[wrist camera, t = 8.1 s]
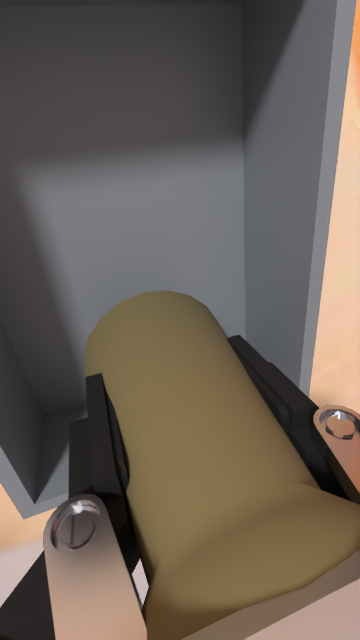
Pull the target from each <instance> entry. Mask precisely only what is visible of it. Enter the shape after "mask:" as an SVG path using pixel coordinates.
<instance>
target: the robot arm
mask: <svg viewBox="0 0 360 640" xmlns="http://www.w3.org/2000/svg"><path fill="white" fill-rule="evenodd" d="M226 339H227V340H228V342H229V343H230V345H231V347H232V348H233V350H234V352H235V353H236V355H237V357H238V358H239V360H240V362H241V363H242V365H243V367H244V368H245V370H246V372H247V373H248V375H249V376H250V378H251V379H252V381H253V383H254V384H255V386H256V387H257V389H258V391H259V392H260V394H261V395H262V397H263V398H264V400H265V402H266V403H267V405H268V406H269V408H270V410H271V411H272V413H273V414H274V416H275V417H276V419H277V421H278V422H279V424H280V425H281V427H282V428H283V430H284V431H285V432H286V434H287V435H288V437H289V438H290V440H291V442H292V443H293V445H294V447H295V448H296V450H297V451H298V453H299V455H300V456H301V458H302V460H303V461H304V463H305V464H306V466H307V468H308V469H309V471H310V473H311V474H312V476H313V478H314V479H315V481H316V482H317V484H318V486H319V487H320V489H321V490H323V491H325V492H328V493H330V494H333V495H336V496H338V497H341V498H343V499H346V500H348V501H351V502H354V503H356V504H359V505H360V414H358V413H357V412H355V411H353V410H352V409H349V408H346V407H343V406H337V405H328V406H324V407H321V408H319V407H318V406H317V405H316V404H315V403H314V402H313V401H312V400H310V399H309V398H308V397H307V396H306V395H305V394H304V393H303V392H302V391H301V390H300V389H299V388H298V387H297V386H296V385H295V384H294V383H293V382H292V381H291V380H290V379H289V378H288V377H287V376H286V375H284V374H283V373H282V372H281V371H280V370H279V369H278V368H277V367H276V366H275V365H274V364H273V363H271V362H267V361H266V360H265V359H264V358H263V357H262V356H261V355H260V354H259V353H258V352H257V351H256V350H255V349H254V348H253V347H252V346H251V345H250V344H249V343H248V342H247V341H246V340H245V339H244V338H243V337H242V336H240V335H235V336H232V337H228V338H226ZM85 382H86V398H87V414H88V417H86V418H83V419H80V420H76V421H73V422H70V426H69V492H68V500H66V501H65V502H63V503H62V504H61V505H60V506H59V507H58V508H57V509H56V510H55V511H54V512H53V513H52V515H51V517H50V518H49V520H48V522H47V524H46V527H45V530H44V535H43V545H44V551H43V552H42V554H41V555H40V556H39V557H38V559H37V560H36V561H35V563H34V564H33V565H32V567H31V568H30V569H29V571H28V572H27V573H26V575H25V576H24V577H23V578H22V580H21V581H20V582H19V584H18V585H17V587H16V588H15V589H14V590H13V592H12V593H11V594H10V596H9V597H8V598H7V600H6V601H5V602H4V604H3V605H2V606H1V608H0V640H147V629H146V625H145V622H144V618H143V615H142V611H141V610H142V607H143V605H142V602H141V599H140V596H139V593H138V590H137V588H136V585H135V582H134V579H133V576H132V573H133V571H134V569H135V567H136V565H137V563H138V561H139V559H140V555H139V552H138V549H137V546H136V542H135V539H134V536H133V531H132V527H131V522H130V518H129V513H128V509H127V505H126V500H125V494H126V491H127V488H128V485H129V478H128V473H127V468H126V463H125V458H124V453H123V449H122V444H121V439H120V434H119V429H118V424H117V419H116V414H115V409H114V406H113V404H112V402H111V400H110V397H109V395H108V393H107V391H106V389H105V387H104V385H103V380H102V374H101V373H98V374H94V375H91V376H87V377H85ZM182 640H360V550H359V551H357V552H355V553H353V554H352V556H351V557H349V558H348V559H346V560H345V561H343V562H342V563H340V564H339V565H337V566H336V567H334V568H333V569H331V570H330V571H328V572H327V573H325V574H324V575H322V576H321V577H319V578H318V579H316V580H315V581H313V582H312V583H310V584H309V585H307V586H306V587H304V588H301V589H298V590H295V591H292V592H289V593H286V594H283V595H280V596H277V597H274V598H272V599H269V600H266V601H263V602H260V603H257V604H254V605H252V606H249V607H246V608H243V609H241V610H239V611H237V612H235V613H233V614H231V615H229V616H227V617H225V618H223V619H221V620H219V621H217V622H215V623H213V624H211V625H209V626H207V627H205V628H203V629H201V630H199V631H197V632H195V633H194V634H192V635H190V636H188V637H186V638H184V639H182Z"/></svg>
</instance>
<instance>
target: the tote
mask: <svg viewBox="0 0 360 640" xmlns="http://www.w3.org/2000/svg"><path fill="white" fill-rule="evenodd" d="M355 7H356V0H0V483H1V484H2V486H3V487H4V489H5V491H6V492H7V494H8V495H9V497H10V498H11V500H12V502H13V503H14V505H15V506H16V508H17V509H18V511H19V513H20V514H21V516H22V517H23V519H26V518H29V517H31V516H34V515H37V514H40V513H42V512H45V511H48V510H51V509H53V508H56V507H59V506H60V505H61V504H62V503H63V502H65V501H66V500H68V492H69V426H70V422H73V421H76V420H80V419H83V418H86V417H88V414H87V398H86V382H85V371H84V364H83V355H84V351H85V347H86V343H87V339H88V336H89V335H90V333H91V332H92V330H93V329H94V327H95V326H96V324H97V323H98V321H99V320H100V318H101V317H102V316H104V315H105V314H106V313H107V312H109V311H110V310H111V309H112V308H114V307H115V306H116V305H117V304H119V303H120V302H122V301H124V300H127V299H129V298H132V297H134V296H136V295H139V294H141V293H144V292H155V291H166V290H169V291H173V292H178V293H182V294H187V295H190V296H192V297H193V298H195V299H196V300H198V301H200V302H201V303H203V304H204V305H206V306H207V307H208V309H209V310H210V311H211V313H212V314H213V316H214V317H215V318H216V320H217V321H218V323H219V324H220V326H221V328H222V329H223V331H224V332H225V334H226V336H227V337H232V336H235V335H240V336H242V337H243V338H244V339H245V340H246V341H247V342H248V343H249V344H250V345H251V346H252V347H253V348H254V349H255V350H256V351H257V352H258V353H259V354H260V355H261V356H262V357H263V358H264V359H265V360H266V361H267V362H271V363H273V364H274V365H275V366H276V367H277V368H278V369H279V370H280V371H281V372H282V373H283V374H284V375H286V376H287V377H288V378H289V379H290V380H291V381H292V382H293V383H294V384H295V385H296V386H297V387H298V388H299V389H300V390H301V391H302V392H303V393H304V394H305V395H306V396H307V397H308V398H309V390H310V381H311V373H312V365H313V356H314V348H315V340H316V332H317V323H318V315H319V307H320V298H321V290H322V282H323V273H324V265H325V257H326V248H327V240H328V232H329V223H330V215H331V207H332V199H333V190H334V182H335V174H336V165H337V157H338V149H339V140H340V132H341V124H342V115H343V107H344V99H345V91H346V82H347V74H348V66H349V57H350V49H351V41H352V32H353V24H354V16H355Z"/></svg>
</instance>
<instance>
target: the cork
mask: <svg viewBox="0 0 360 640" xmlns="http://www.w3.org/2000/svg"><path fill="white" fill-rule="evenodd" d="M226 338H228V337H227V336H226V334H225V332H224V331H223V329H222V328H221V326H220V324H219V323H218V321H217V320H216V318H215V317H214V316H213V314H212V313H211V311H210V310H209V309H208V307H207V306H206V305H204V304H203V303H201V302H200V301H198V300H196V299H195V298H193V297H192V296H190V295H187V294H182V293H178V292H173V291H169V290H166V291H155V292H144V293H141V294H139V295H136V296H134V297H132V298H129V299H127V300H124V301H122V302H120V303H119V304H117V305H116V306H115V307H114V308H112V309H111V310H110V311H109V312H107V313H106V314H105V315H104V316H102V317H101V318H100V320H99V321H98V323H97V324H96V326H95V327H94V329H93V330H92V332H91V333H90V335H89V336H88V339H87V343H86V347H85V351H84V355H83V364H84V371H85V377H87V376H91V375H94V374H98V373H101V374H102V380H103V385H104V387H105V389H106V391H107V393H108V395H109V397H110V400H111V402H112V404H113V406H114V409H115V414H116V419H117V424H118V429H119V434H120V439H121V444H122V449H123V453H124V458H125V463H126V468H127V473H128V478H129V485H128V488H127V491H126V494H125V500H126V505H127V509H128V513H129V518H130V522H131V527H132V531H133V536H134V539H135V542H136V546H137V549H138V552H139V555H140V559H141V562H142V565H143V568H144V572H145V575H146V578H147V582H148V585H149V588H148V591H147V595H146V598H145V601H144V604H143V607H142V610H141V611H142V615H143V618H144V622H145V625H146V629H147V640H182V639H184V638H186V637H188V636H190V635H192V634H194V633H195V632H197V631H199V630H201V629H203V628H205V627H207V626H209V625H211V624H213V623H215V622H217V621H219V620H221V619H223V618H225V617H227V616H229V615H231V614H233V613H235V612H237V611H239V610H241V609H243V608H246V607H249V606H252V605H254V604H257V603H260V602H263V601H266V600H269V599H272V598H274V597H277V596H280V595H283V594H286V593H289V592H292V591H295V590H298V589H301V588H304V587H306V586H307V585H309V584H310V583H312V582H313V581H315V580H316V579H318V578H319V577H321V576H322V575H324V574H325V573H327V572H328V571H330V570H331V569H333V568H334V567H336V566H337V565H339V564H340V563H342V562H343V561H345V560H346V559H348V558H349V557H351V556H352V554H353V553H355V552H357V551H359V550H360V505H359V504H356V503H354V502H351V501H348V500H346V499H343V498H341V497H338V496H336V495H333V494H330V493H328V492H325V491H323V490H321V489H320V487H319V486H318V484H317V482H316V481H315V479H314V478H313V476H312V474H311V473H310V471H309V469H308V468H307V466H306V464H305V463H304V461H303V460H302V458H301V456H300V455H299V453H298V451H297V450H296V448H295V447H294V445H293V443H292V442H291V440H290V438H289V437H288V435H287V434H286V432H285V431H284V430H283V428H282V427H281V425H280V424H279V422H278V421H277V419H276V417H275V416H274V414H273V413H272V411H271V410H270V408H269V406H268V405H267V403H266V402H265V400H264V398H263V397H262V395H261V394H260V392H259V391H258V389H257V387H256V386H255V384H254V383H253V381H252V379H251V378H250V376H249V375H248V373H247V372H246V370H245V368H244V367H243V365H242V363H241V362H240V360H239V358H238V357H237V355H236V353H235V352H234V350H233V348H232V347H231V345H230V343H229V342H228V340H227V339H226Z"/></svg>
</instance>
